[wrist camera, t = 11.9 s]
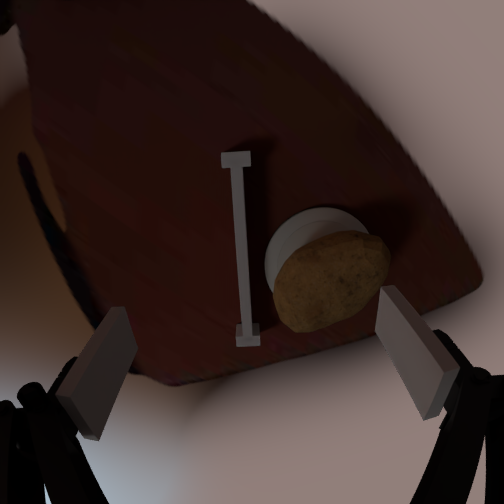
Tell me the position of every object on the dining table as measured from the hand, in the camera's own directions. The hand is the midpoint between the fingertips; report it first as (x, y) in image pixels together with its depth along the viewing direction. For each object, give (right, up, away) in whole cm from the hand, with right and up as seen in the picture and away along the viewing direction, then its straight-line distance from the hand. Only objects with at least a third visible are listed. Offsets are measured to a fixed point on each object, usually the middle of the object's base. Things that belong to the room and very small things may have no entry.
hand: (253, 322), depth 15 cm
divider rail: (-1, +4, +22) cm, 23 cm away
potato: (+9, +2, +22) cm, 24 cm away
